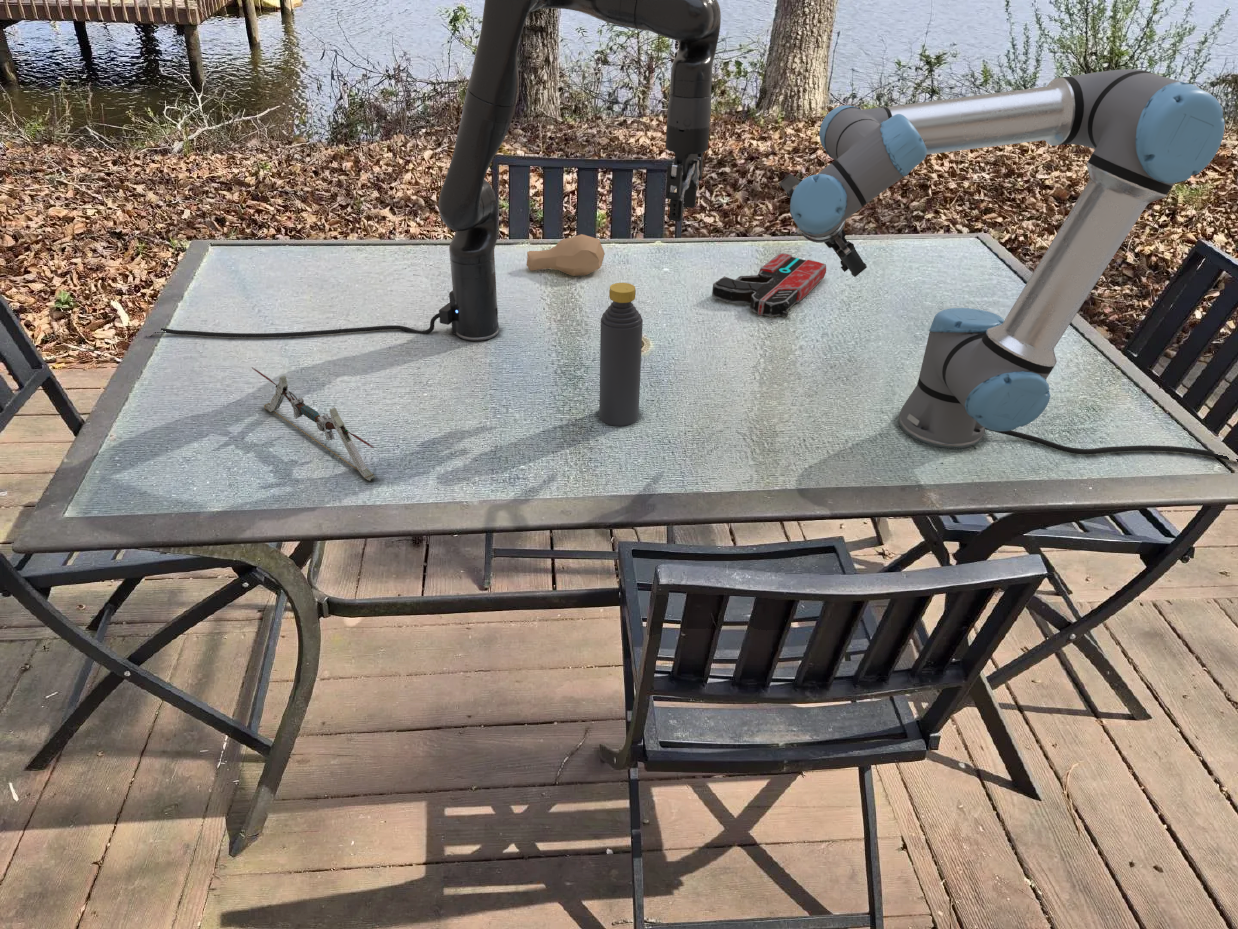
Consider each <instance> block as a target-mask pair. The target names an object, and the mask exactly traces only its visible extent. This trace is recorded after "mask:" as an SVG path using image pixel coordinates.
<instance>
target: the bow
mask: <svg viewBox="0 0 1238 929" xmlns="http://www.w3.org/2000/svg"><path fill="white" fill-rule="evenodd" d="M250 368H251V369H252V370H254V371H255V372H257V374H259V375H260V376H262V377H263V378H264V379H266V380H267V381H269V382H270V383H272V384H273V385H275V386H274V388H275V392H274V394H273V396H272V397H271V399H270V402H268V403H265V404H263V407H264V409H265V410H266V411H267V412H269V413H272V412H273V413H274V414H276V415H277V416H279V418H282V419H283V420H284V421H286V422H287V423H288V424H290V425H292V426H293V427H294V428H296V429H297V430H299V431H300V432H302V433H303V434H304V435H306V436H308V438H310V439H312V440H313V441H315V442H316V443H317V444H319V445H320V446H321V447H323V448H325V449H326V450H328V451H329V452H330V453H332V454H334V455H335V456H336V457H338V458H339V459H341V461H343V462H345V463H346V464H348V465H349V466H350V467H351V468H354V469H355V470H356V471H358V472H359V473H360V475H361V476H362V477H363V479H366V480H367V481H368V482H370V481H372V479H376V475H375V474H374V473H373V472H372V471H371V470H370V469H369V468H368V466H367V465H366V463H365V461H364V458H362V456H361V454H360V452H359V451H358V448H357V446H356V444H355V443H354V440H353V439H352V437H353V438H355V439H357V440H358V441H360V442H362V443H364V444H365V445H366V446H368V447H370V448H372V449H375V446H373V445H372V444H371V443H369V442H368V441H366V440H365V439H362V438H361V437H360V436H358V435H357V434H354V433H351V432H350V431H349V429H348V428H347V426H346V424H345V422H344V421H343V419H342V418H341V416H340V414H339V412H338V410H337V408H336V407H332V408H330V409H329V414H328V413H325V414H323V415H321V414H320V413H319V411H317V410H316V409H314V408H312V407H311V406H310V405H307V404H306V403H305V401H304V400H305V399H304V398H303V397H300V396H299V397H297V395H295V393H293V392H292V391H291V390H288V389H289V384H288V380H287V376H286V375H282V376H279V380H278V383H277V384H276V383H275V382H274V381H273V380H272V378H269V377H268V376H267V375H265V374H264V373H262V372H261V371H260V370H258V369H256V368H255V367H252V366H251V367H250ZM284 398H286V400H287V401H288V402H289V403H290V405H291V407H292V410H293V412H292V413H293V418H294V419H295V420H297V419H298V418H302V417H303V416H305V417H306V418H308V419H309V420H310V421H312V422H314V423H316V427H317V429H318V431H320V432H322V433H324V436H325V440H326V441H327V442H330V441H332V440H335V436H334V432H333V430H335V431H336V432H337V434H338V436H339V437H340V440H341V441H342V443H343V445H344V447H345V449H346V451H347V453H348V455H349V456H350V458H351V460H352V463H353V464H354V465H355V466H354V465H353V464H351V462H349V461H348V460H346V459H344V458H343V457H342V456H340V455H338V454H337V453H335V452H334V451H333V450H331V449H330V448H328V447H327V446H325V445H324V444H323V443H322V442H320V441H318V440H316V438H314V437H313V436H311V435H310V434H308V433H306V432H305V431H304V430H302V429H301V428H299V427H298V426H296V425H295V424H294V423H292V422H290V421H289V420H288V419H287V418H285V417H283V416H282V415H281V414H279V413H278V412H276V411H277V410H279V409H280V408H281V404H282V403H283V400H284ZM351 436H352V437H351Z"/></svg>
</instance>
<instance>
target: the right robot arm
mask: <svg viewBox="0 0 1238 929" xmlns="http://www.w3.org/2000/svg"><path fill="white" fill-rule="evenodd" d="M1225 126H1226V121H1225V119H1224V111H1223V108H1222V106H1221V103H1220V102H1219V100H1218V99H1217V98H1216V97H1215V96H1214V95H1213V94H1211V93H1210V92H1208V91H1206V90H1204V89H1202V88H1199V87H1197V85H1195V84H1193V83H1189V82H1184V81H1180V80H1176V79H1173V78H1169V77H1166V76H1163V75H1159V74H1155V73H1154V72H1151V71H1148V70H1144V69H1137V68H1128V69H1127V68H1123V69H1112V70H1103V71H1096V72H1089V73H1083V74H1075V75H1070V76H1069V75H1068V76H1060V77H1055V78H1053V79H1052V80H1051V81H1050V82H1048V84H1047V85H1046V86H1040V87H1032V88H1024V89H1017V90H1009V91H999V92H994V93H985V94H984V93H983V94H977V95H970V96H961V97H955V98H954V97H953V98H947V99H938V100H931V101H930V100H929V101H921V102H913V103H907V104H898V105H891V106H882V107H873V108H865V109H861V108H860V107H858V106H854V105H848V104H847V105H839V106H837V107H834V108H833V109H831V110H830V111H829V112H828V113H827V114H826V115H825V117H824V118H823V120H822V121H821V124H820V128H819V132H818V134H819V141H820V144H821V146H822V148H823V149H824V150H825V153H826V154H827V155H828V157H830V158H831V159H832V160H833V161H832V162H831V163H829V164H828V165H827V166H825V167H824V168H823V169H822V170H820V171H819V172H817V174H812V175H809V176H807V177H805V178H801V179H798V178H797V177H795V175H794V174H792V173H789V174H788V175H787V176H785V177H784V178H783V179H782V180H781V181H780V182H778V186H779V187H780V188H781V189H783V190H784V191H785V194H786V196H787V197H789V204H790V206H789V212H790V216H791V219H792V220H793V221H794V223H795V224H796V228H795V233H796V234H797V235H802V236H803V238H805V239H806V240H808V241H810V242H812V243H818V244H821V243H822V244H823V243H824V245H825V246H826V247H827V248H829V249H833V251H834V253H835V254H836V255H837V256H838V258H839V259H840V265H841V266H840V269H841V270H842V272H844V273H845V272H847V271H848V270H849V271H850V275H852V277H854V278H856V277H857V276H858V275H860V274H861V273H862V272H864V271H865V270H866V269H867V268H868V266H867V264H866V263H865V262H864V260H863V259H862V257H861V256H860V254H859V253H858V251H857V249H856V247H855V244H854V243H853V242H850V241H849V240H847V239H846V235H847V234H846V231H845V230H844V227H845V225H846V220H847V219H849V218H850V217H852V216H853V215H854V214H856V213H857V212H858V211H859V210H861V209H862V208H863V207H864V206H866V205H867V204H868V203H869V202H871V201H872V200H874V199H875V198H876V197H877V196H879V195H881V194H882V193H884V192H885V191H886V190H888V189H889V188H890V187H892V186H894V184H896V183H897V182H899V181H900V180H901V179H903V178H904V177H907V176H909V174H910V172H911V171H913V170H914V169H915V168H916V167H918V165H920V164H921V163H922V162H924V160H925V159H926V158H927V155H935V154H943V153H950V152H959V151H966V150H975V149H983V148H991V147H999V146H1008V145H1014V144H1015V145H1016V144H1022V143H1023V144H1024V143H1033V142H1040V141H1044V142H1046V144H1048V145H1049V146H1053V147H1055V146H1063V145H1074V146H1075V145H1076V146H1083V147H1086V148H1089V149H1090V148H1091V149H1094V150H1093V152H1092V154H1091V155H1090V157H1089V159H1088V161H1087V162H1086V168H1087V172H1088V177H1089V179H1088V181H1087V183H1086V185H1085V186H1084V188H1083V190H1082V192H1081V193H1080V194H1079V196H1078V197H1077V199H1076V201H1075V203H1074V205H1073V206H1072V208H1071V210H1070V211H1069V213H1068V215H1067V216H1066V218H1065V219H1064V221H1063V223H1062V224H1061V226H1060V227H1059V229H1058V231H1057V233H1056V234H1055V236H1054V238H1053V240H1051V242H1050V244H1049V246H1048V248H1047V249H1046V251H1045V252H1044V254H1043V256H1042V257H1041V259H1040V261H1039V262H1038V264H1037V265H1036V267H1035V269H1034V271H1033V272H1032V274H1031V276H1030V277H1029V279H1028V281H1026V284H1025V285H1024V287H1023V289H1022V290H1021V291H1020V293H1019V296H1018V297H1017V299H1016V300H1015V302H1014V304H1013V305H1012V307H1011V309H1010V310H1009V312H1008V314H1007V315H1006V317H1005V318H1004V317H1002V316H1001V315H999V314H996V313H994V312H991V311H987V310H983V309H978V308H970V307H951V308H946V309H942V310H941V311H938V312H937V313H936V314H935V315H934V317H933V319H932V322H931V325H930V327H929V330H928V331H929V333H928V336H927V337H928V338H927V342H926V345H925V348H924V349H925V350H924V353H923V354H924V355H923V359H922V362H921V367H920V370H919V371H920V372H919V376H918V379H917V384H916V386H915V387H914V389H913V390H912V392H911V394H910V395H909V396H908V398H907V399H906V401H905V402H904V404H903V406H902V407H901V409H900V411H899V414H898V419H897V423H898V426H899V428H900V429H901V431H902V432H903V433H904V434H905V435H906V436H908V437H909V438H910V439H912V440H914V441H916V442H917V443H920V444H923V445H926V446H928V447H931V448H932V447H933V448H936V449H941V450H953V451H955V450H956V451H957V450H966V449H970V448H974V447H976V446H978V445H980V444H981V442H982V440H983V438H984V436H985V433H986V431H989V432H994V433H997V434H998V433H999V434H1002V435H1005V436H1010V437H1014V438H1018V439H1022V440H1026V441H1029V442H1034V443H1037V444H1039V445H1043V446H1045V447H1048V448H1051V449H1054V450H1057V451H1061V452H1065V453H1068V454H1075V455H1098V454H1106V453H1124V452H1169V453H1170V452H1172V453H1173V452H1174V453H1185V454H1192V455H1199V456H1205V457H1210V458H1211V457H1212V458H1217V459H1222V460H1225V461H1230V460H1229V458H1228V457H1227V456H1223V455H1218V454H1213V452H1214V451H1213V450H1207V449H1201V448H1194V447H1184V446H1174V445H1150V444H1149V445H1119V446H1104V447H1095V448H1078V447H1072V446H1071V447H1070V446H1066V445H1063V444H1059V443H1056V442H1052V441H1051V440H1047V439H1044V438H1041V437H1038V436H1035V435H1031V434H1027V433H1024V432H1019V431H1015V430H1016V429H1018V428H1023V427H1026V426H1027V425H1029V424H1031V423H1033V421H1035V420H1037V419H1038V418H1039V417H1040V416H1041V415H1042V414H1043V412H1044V411H1045V410H1046V408H1047V407H1048V405H1049V403H1050V399H1051V392H1050V385H1049V382H1048V381H1047V379H1048V377H1049V376H1050V375H1051V373H1052V371H1053V369H1054V368H1055V367H1056V365H1057V357H1056V353H1055V347H1056V346H1057V345H1058V343H1059V341H1060V340H1061V339H1062V338H1063V335H1064V334H1065V332H1066V331H1067V329H1068V328H1069V326H1070V325H1071V324H1072V322H1073V320H1074V318H1075V317H1076V316H1077V314H1078V313H1079V311H1080V310H1081V308H1082V306H1083V304H1084V303H1085V301H1086V300H1087V298H1088V297H1089V295H1090V294H1091V292H1092V290H1093V289H1094V288H1095V286H1096V284H1097V283H1098V282H1099V279H1100V278H1101V277H1102V275H1103V274H1104V272H1105V271H1106V269H1107V268H1108V266H1109V264H1110V263H1111V261H1112V260H1113V258H1114V257H1115V255H1116V254H1117V252H1118V250H1119V249H1120V247H1121V246H1122V244H1123V243H1124V241H1125V240H1126V238H1127V237H1128V235H1129V233H1130V232H1131V230H1132V229H1133V227H1134V226H1135V224H1136V223H1137V222H1138V219H1139V218H1140V217H1141V215H1142V213H1143V212H1144V210H1145V209H1146V208H1147V206H1148V205H1149V204H1150V203H1152V202H1156V201H1159V200H1161V199H1164V198H1167V197H1168V194H1170V192H1171V190H1172V188H1173V187H1174V186H1175V184H1176V183H1181V182H1185V181H1187V180H1190V179H1191V178H1192V176H1194V175H1199V173H1201V172H1202V171H1203V170H1204V169H1205V168H1206V167H1207V166H1209V164H1210V163H1211V162H1212V160H1213V159H1214V158H1215V156H1216V154H1218V151H1219V149H1220V147H1221V145H1222V142H1223V138H1224V136H1225V135H1224V134H1225V128H1226V127H1225ZM1236 460H1237V462H1236V463H1238V459H1236Z"/></svg>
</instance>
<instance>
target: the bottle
mask: <svg viewBox="0 0 1238 929" xmlns="http://www.w3.org/2000/svg"><path fill="white" fill-rule="evenodd" d="M643 323H644V321H643V318H642V315H641V313H640V312H639V311H638V309H637V308H636V306H635V305H634V303H633V302H632V301H631V302H628V303H618V302H614V301H612V302H611V303H610V304H609V305H608V307H607V308H606V309H605V311H604V312H603V313H602V314H601V318H600V334H599V335H600V339H599V340H600V342H599V343H600V344H599V404H598V405H599V411H598V412H599V413H598V414H599V415H598V416H599V419H600V421H602V422H603V423H604V424H606V425H609V426H615V427H625V426H630V425H632V424H635V423H636V422H637V421H638V420H639V415H640V391H641V371H642V370H641V368H642V349H643V348H642V347H643Z"/></svg>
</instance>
